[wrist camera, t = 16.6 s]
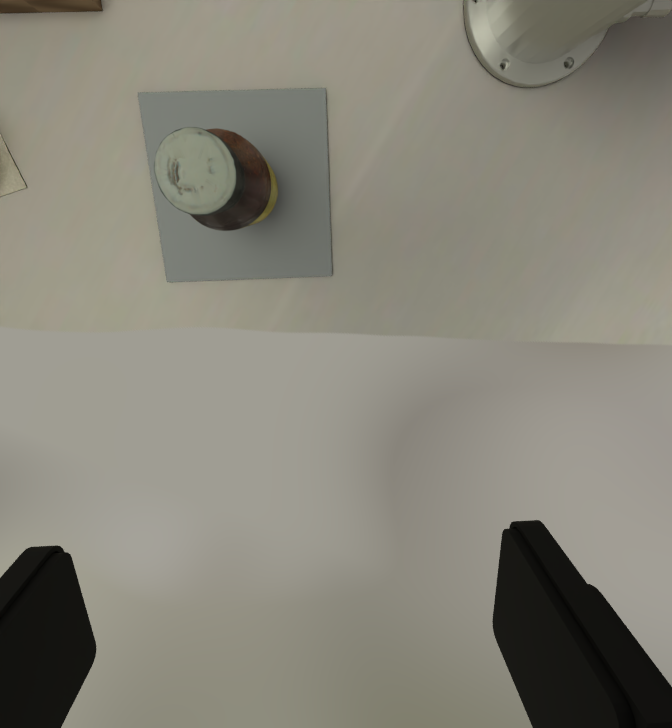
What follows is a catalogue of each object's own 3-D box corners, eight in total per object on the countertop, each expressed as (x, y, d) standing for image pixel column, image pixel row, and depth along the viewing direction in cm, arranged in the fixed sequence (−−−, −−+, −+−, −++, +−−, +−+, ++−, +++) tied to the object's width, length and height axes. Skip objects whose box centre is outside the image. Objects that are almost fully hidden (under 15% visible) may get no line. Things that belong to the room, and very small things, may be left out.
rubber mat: (325, 89, 38) (325, 87, 38) (331, 275, 43) (332, 276, 43) (140, 94, 38) (137, 92, 37) (168, 281, 43) (166, 282, 42)
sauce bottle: (199, 201, 40) (94, 188, 21) (230, 136, 38) (147, 61, 20) (262, 239, 41) (216, 260, 23) (295, 179, 40) (275, 146, 21)
